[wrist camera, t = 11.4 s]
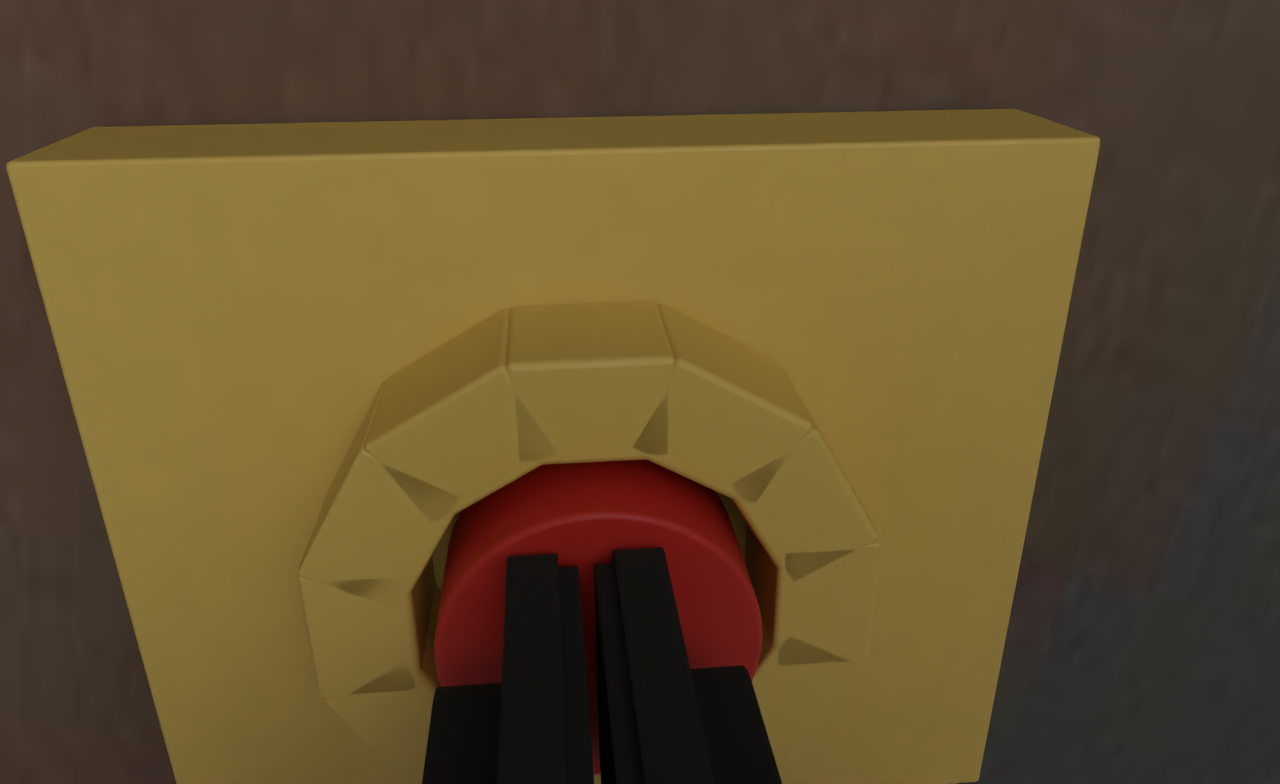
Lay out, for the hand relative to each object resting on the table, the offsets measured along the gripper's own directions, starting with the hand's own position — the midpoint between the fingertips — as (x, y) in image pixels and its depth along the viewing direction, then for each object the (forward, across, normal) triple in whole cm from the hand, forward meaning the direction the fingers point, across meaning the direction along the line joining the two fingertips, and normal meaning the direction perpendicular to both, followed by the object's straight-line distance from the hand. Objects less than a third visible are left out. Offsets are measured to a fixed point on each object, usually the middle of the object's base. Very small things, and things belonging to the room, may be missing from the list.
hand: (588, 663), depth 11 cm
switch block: (+5, 0, 0) cm, 5 cm away
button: (+2, 0, 0) cm, 2 cm away
